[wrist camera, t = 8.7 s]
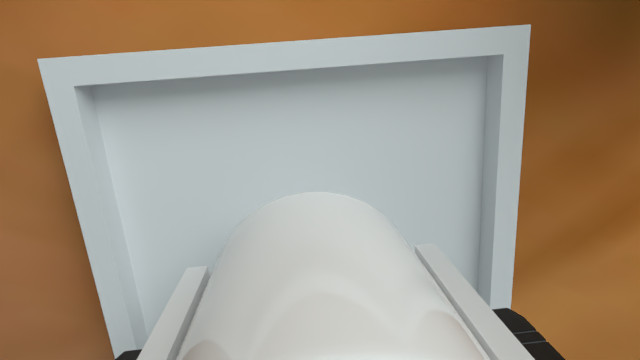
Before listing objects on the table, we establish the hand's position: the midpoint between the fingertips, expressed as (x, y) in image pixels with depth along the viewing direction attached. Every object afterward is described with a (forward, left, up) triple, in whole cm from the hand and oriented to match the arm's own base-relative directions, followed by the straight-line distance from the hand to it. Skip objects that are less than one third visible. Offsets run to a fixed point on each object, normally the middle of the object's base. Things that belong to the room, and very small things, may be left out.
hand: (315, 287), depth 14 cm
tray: (0, 0, -4) cm, 4 cm away
